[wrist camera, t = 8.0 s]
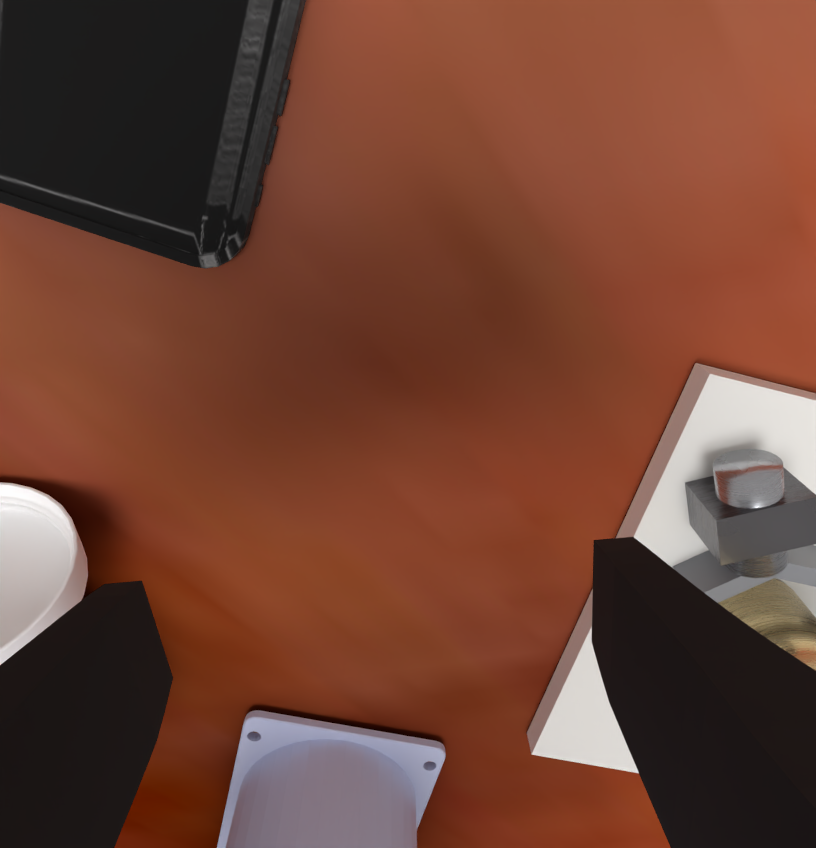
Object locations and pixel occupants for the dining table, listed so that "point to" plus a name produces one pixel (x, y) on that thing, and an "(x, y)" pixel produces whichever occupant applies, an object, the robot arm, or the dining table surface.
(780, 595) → the cylinder
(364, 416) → the dining table surface
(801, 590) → the base plate
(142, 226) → the phone
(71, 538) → the spread jar
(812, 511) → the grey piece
